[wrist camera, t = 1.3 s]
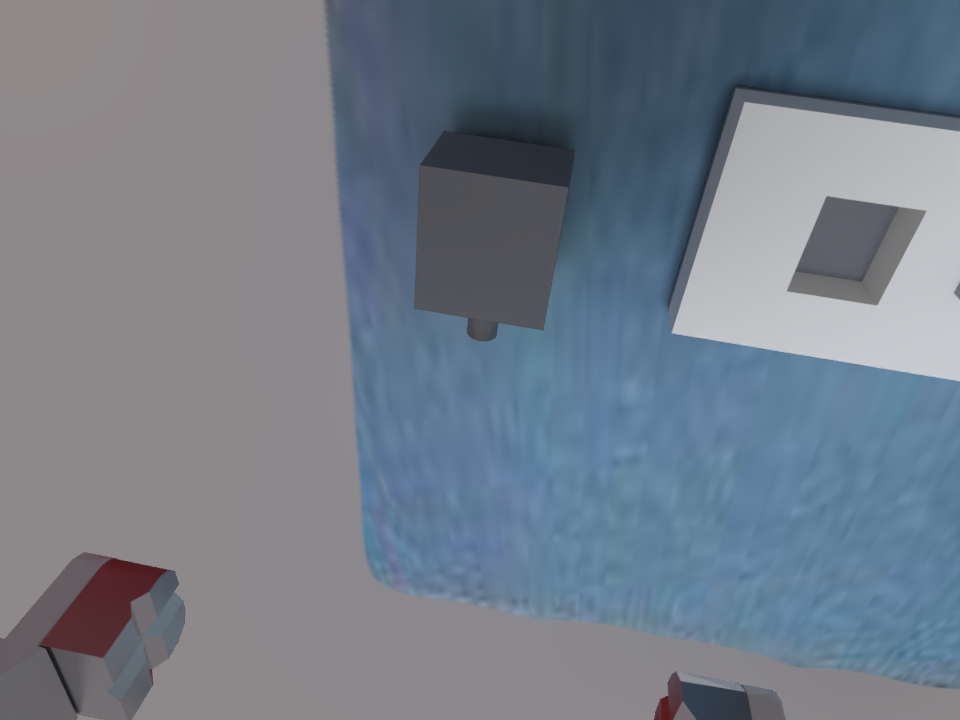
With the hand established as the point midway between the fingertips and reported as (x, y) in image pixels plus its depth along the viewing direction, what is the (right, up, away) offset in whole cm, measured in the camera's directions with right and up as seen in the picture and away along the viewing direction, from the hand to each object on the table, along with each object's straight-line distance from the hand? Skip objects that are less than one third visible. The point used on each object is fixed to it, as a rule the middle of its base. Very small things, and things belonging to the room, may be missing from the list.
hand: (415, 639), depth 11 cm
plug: (+2, +12, +26) cm, 29 cm away
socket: (+25, +10, +23) cm, 35 cm away
